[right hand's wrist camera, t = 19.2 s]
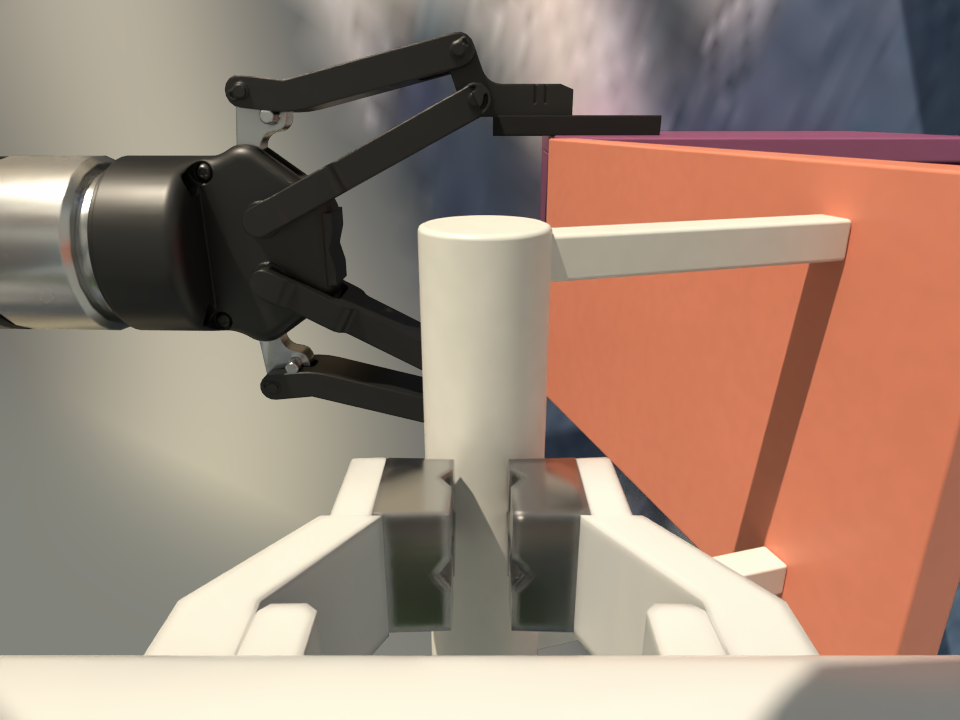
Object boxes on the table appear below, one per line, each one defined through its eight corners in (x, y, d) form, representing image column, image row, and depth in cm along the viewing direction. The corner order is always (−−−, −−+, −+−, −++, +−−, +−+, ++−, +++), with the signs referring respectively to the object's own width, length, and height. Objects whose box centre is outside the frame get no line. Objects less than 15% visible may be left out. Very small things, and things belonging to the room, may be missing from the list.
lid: (1083, 173, 9) (475, 195, 6) (921, 714, 12) (478, 852, 10) (575, 138, 23) (333, 140, 21) (564, 387, 26) (352, 413, 24)
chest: (848, 131, 33) (998, 137, 23) (815, 313, 36) (935, 387, 26) (542, 131, 33) (560, 137, 23) (537, 311, 36) (551, 383, 26)
